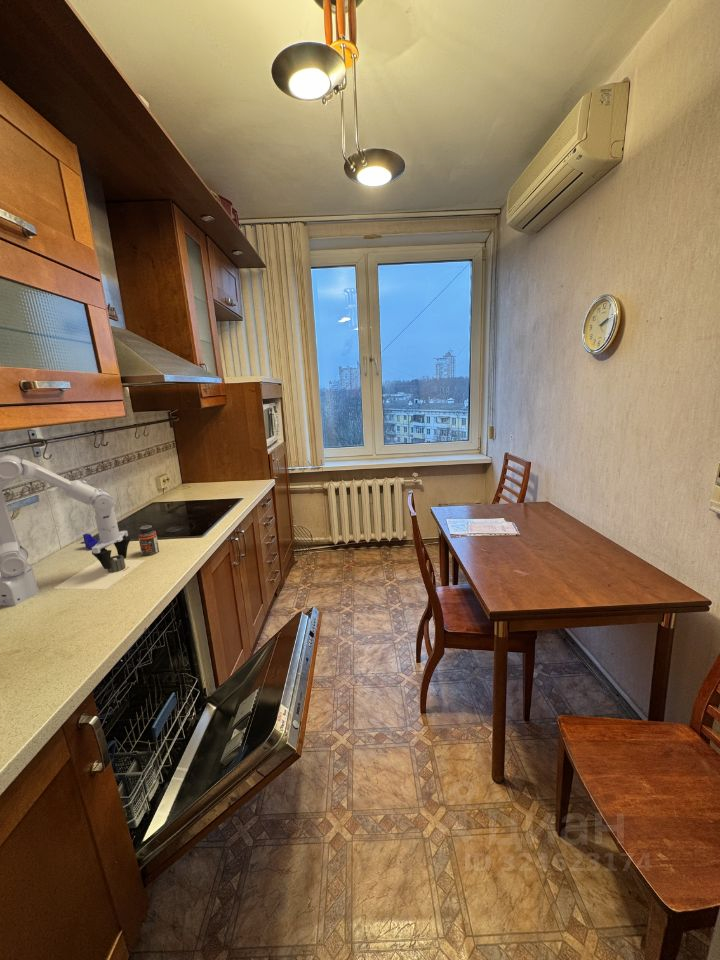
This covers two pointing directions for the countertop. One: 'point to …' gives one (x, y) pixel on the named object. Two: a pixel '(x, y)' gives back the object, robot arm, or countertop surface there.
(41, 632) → the countertop surface
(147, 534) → the supplement bottle
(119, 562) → the grey grooved ring
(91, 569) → the socket plate
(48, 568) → the countertop surface
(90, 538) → the blue curved bracket
